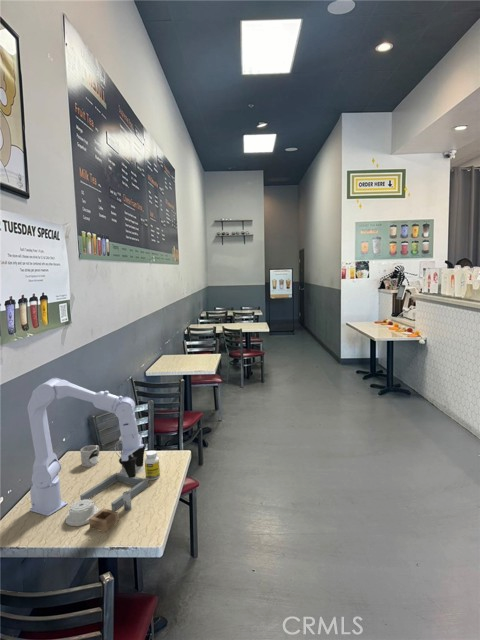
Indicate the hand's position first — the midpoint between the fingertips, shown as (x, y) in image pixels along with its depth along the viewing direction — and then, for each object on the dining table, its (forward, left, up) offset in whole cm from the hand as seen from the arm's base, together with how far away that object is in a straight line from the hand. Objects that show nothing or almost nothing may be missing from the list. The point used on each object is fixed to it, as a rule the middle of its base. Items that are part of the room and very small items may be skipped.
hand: (136, 471), depth 136 cm
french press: (-19, +17, -10) cm, 27 cm away
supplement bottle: (-6, +15, -10) cm, 19 cm away
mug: (-40, +17, -10) cm, 45 cm away
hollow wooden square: (-1, -15, -10) cm, 18 cm away
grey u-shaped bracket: (-11, 0, -10) cm, 15 cm away
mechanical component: (-11, -15, -11) cm, 21 cm away
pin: (0, -6, -10) cm, 12 cm away
